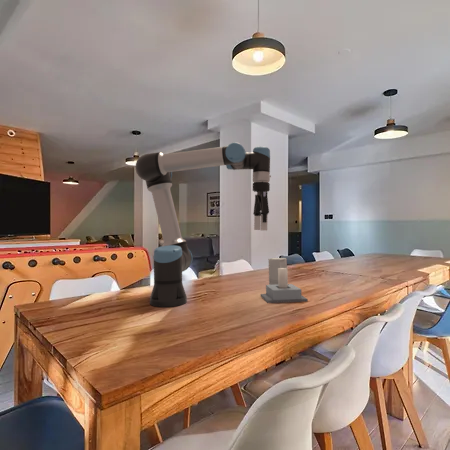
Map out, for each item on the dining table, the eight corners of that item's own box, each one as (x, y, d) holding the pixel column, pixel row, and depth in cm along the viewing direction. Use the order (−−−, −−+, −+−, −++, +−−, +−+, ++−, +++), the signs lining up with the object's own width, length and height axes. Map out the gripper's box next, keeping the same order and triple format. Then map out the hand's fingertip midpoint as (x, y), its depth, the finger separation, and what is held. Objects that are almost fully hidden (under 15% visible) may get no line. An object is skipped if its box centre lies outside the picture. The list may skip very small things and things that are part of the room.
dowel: (279, 297, 129) (279, 269, 129) (277, 295, 133) (276, 268, 133) (289, 297, 129) (288, 269, 129) (286, 295, 133) (285, 267, 133)
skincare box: (280, 292, 144) (279, 259, 144) (267, 290, 148) (267, 258, 148) (287, 289, 151) (287, 257, 151) (276, 287, 155) (275, 257, 155)
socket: (267, 303, 124) (267, 290, 124) (260, 296, 136) (260, 284, 136) (307, 301, 126) (307, 289, 126) (297, 294, 138) (296, 283, 138)
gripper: (277, 178, 123) (276, 230, 123) (263, 186, 148) (262, 229, 147) (258, 177, 122) (258, 230, 122) (247, 185, 147) (247, 229, 147)
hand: (260, 230), depth 135 cm, fingers open, 13 cm apart
